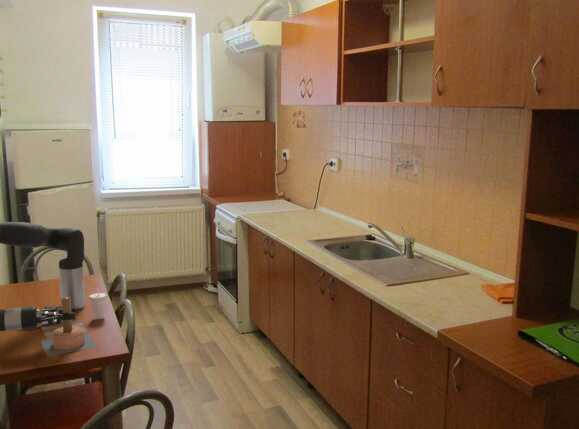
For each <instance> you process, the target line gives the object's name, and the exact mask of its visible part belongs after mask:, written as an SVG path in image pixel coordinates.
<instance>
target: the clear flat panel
mask: <svg viewBox="0 0 579 429" xmlns="http://www.w3.org/2000/svg"><path fill="white" fill-rule="evenodd" d="M72 326H80V327H82V328H83V331H84V333H86V332H88V330H87V328H86V327H85V326H84V324H83V322H82V321H81V319H78V320H72ZM61 327H63V322H61V323H60V324H55V325H49V326H44V327H42V326H40V329H41V330H42V333H43V335H44V336H45V340H48V339H52V332H53V331H54V330H56V329H58V328H61ZM88 333H89V332H88Z"/></svg>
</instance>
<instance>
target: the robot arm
mask: <svg viewBox="0 0 579 429" xmlns="http://www.w3.org/2000/svg"><path fill="white" fill-rule="evenodd" d="M0 244H3V245H6V246H7V245H8V246H11V247H12V246H15V247H20V248H29V249H33V248H40V247H46V248H47V247H48V248H53V249H55V250H59V251H64V252H65V251H66V257H65V258H61V259H59V261H58V272H59V273H58V274H59V286H60V299H61V298H62V297H70V298H71V313H65V314H62V305H58V306H55V305H54V306H51V305H50V306H44V307H43V309H41V310H40V309H39V310H40V311H37V309H38V308H37V306H35V305H34V306H21V307H20V306H19V307H13V308H8V309H0V332H7V331H10V332H11V331H22V330H23V331H24V330H33V329H37V328H38V327H37V323H41V324H42V327H44V326H49V325H55V324H60V323H63V321H64V320H72V321H74V320H75V319H76V310H78V309H79V310H81V309H82V308H85V306H86V296H85V295H86V294H85V278H84V277H85V276H84V264H83V263H84V260H85V259H84V258H85V236H84V234H83V232H82V231H81V230H80V229H79V228H69V227H55V228H53V227H45V226H44V225H41V224H37V223H34V222H33V223H32V222H27V221H26V222H25V221H4V222H3V221H2V222H1V221H0ZM36 327H37V328H36Z"/></svg>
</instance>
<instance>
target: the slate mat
mask: <svg viewBox="0 0 579 429" xmlns="http://www.w3.org/2000/svg"><path fill="white" fill-rule="evenodd" d="M84 335H85V343H84V344H82V345H81V346H79V347H78V348H73V349H68V350H61V349H54V347H53V345H52V338H51V339H43V340H40V342H41V345H42V347H43V349H44V352H45V355H46V357H53V356H57V355H61V354H68V353H72V352H73V353H74V352H77V351H82V350H89V349H93V348H97V347H98V346H97V344H96V342H95V341H94V340H93V338H92V336H91V334H90V333H89V332H84Z"/></svg>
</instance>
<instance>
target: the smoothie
mask: <svg viewBox="0 0 579 429" xmlns="http://www.w3.org/2000/svg"><path fill="white" fill-rule="evenodd" d="M96 290H97V292H96V293H93V294H92V293H91V294H90V295H89V300H90V303H91V304H90V305H91V310H92V314H93V319H94V320H102V319H104V318H105V313H106V312H105V311H106V303H107V302H106V300H107V298H108V296H107V294H106V293H104V292H100V284H99V283H98V284H97V288H96Z"/></svg>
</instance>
